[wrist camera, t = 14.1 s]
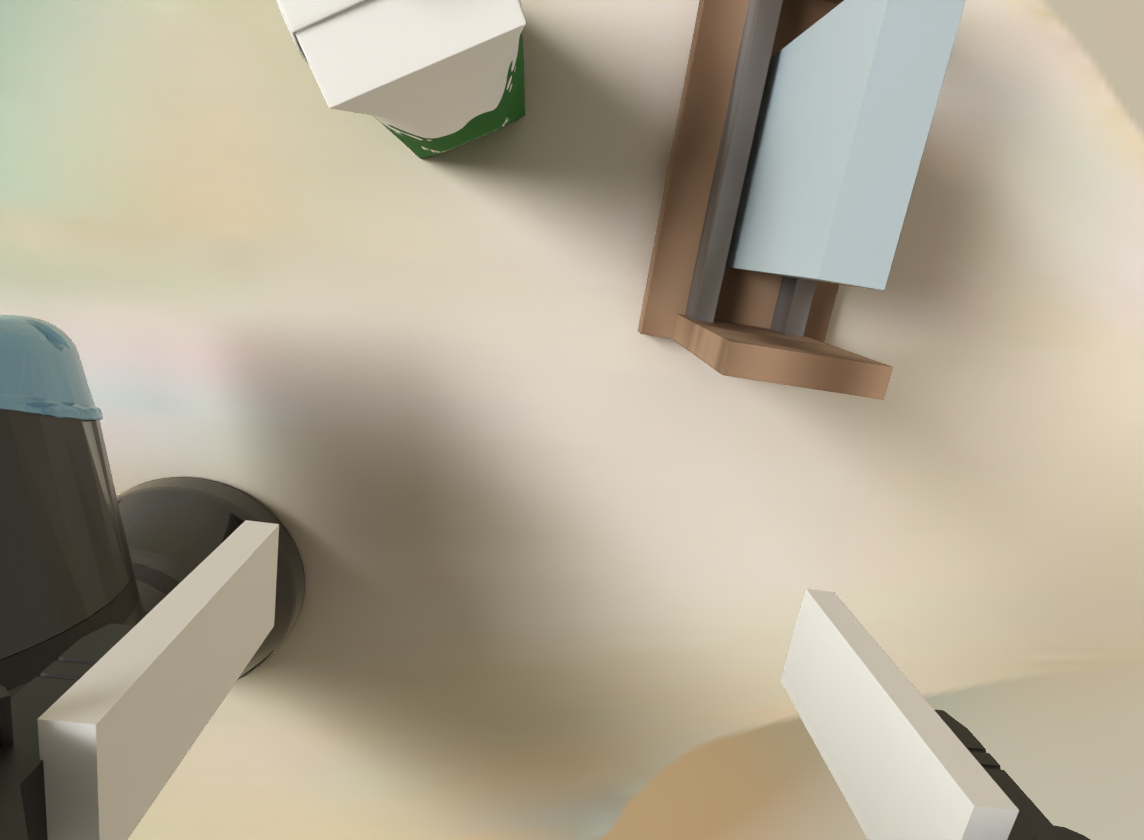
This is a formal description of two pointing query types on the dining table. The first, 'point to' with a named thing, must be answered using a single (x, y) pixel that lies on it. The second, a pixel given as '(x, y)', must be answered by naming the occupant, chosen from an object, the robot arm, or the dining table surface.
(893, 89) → the door panel
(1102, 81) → the dining table surface
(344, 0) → the milk carton
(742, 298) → the track frame
